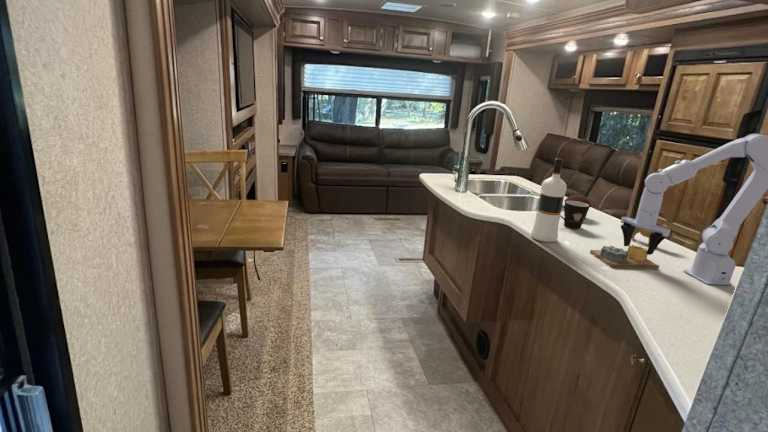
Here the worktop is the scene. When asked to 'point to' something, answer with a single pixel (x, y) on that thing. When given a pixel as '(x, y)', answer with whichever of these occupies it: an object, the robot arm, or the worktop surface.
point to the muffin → (578, 198)
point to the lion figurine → (646, 232)
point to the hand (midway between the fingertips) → (637, 249)
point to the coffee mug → (574, 214)
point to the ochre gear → (637, 253)
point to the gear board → (627, 262)
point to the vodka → (550, 206)
